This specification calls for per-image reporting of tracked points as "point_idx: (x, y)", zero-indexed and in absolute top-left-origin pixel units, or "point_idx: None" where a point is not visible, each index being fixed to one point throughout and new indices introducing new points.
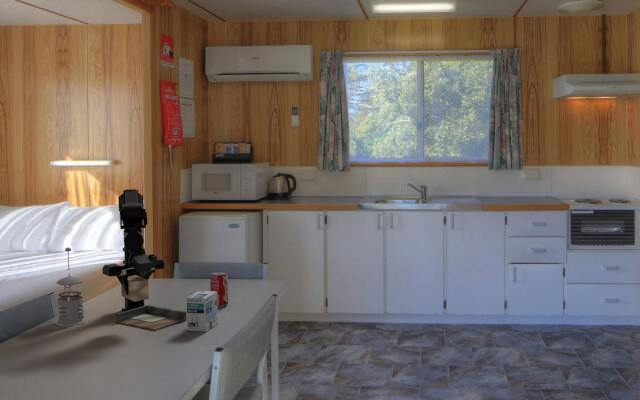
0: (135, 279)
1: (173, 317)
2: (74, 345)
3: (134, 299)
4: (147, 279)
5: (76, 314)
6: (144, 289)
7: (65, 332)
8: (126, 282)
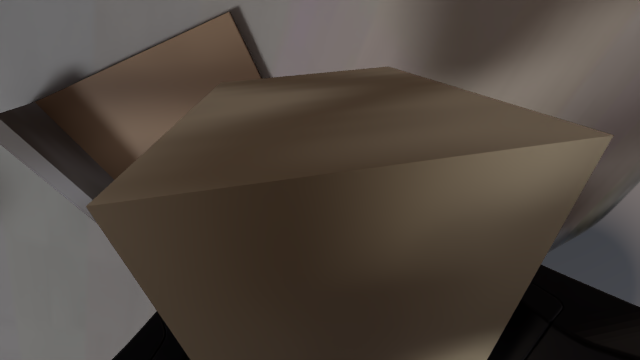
0: (378, 350)
1: (99, 167)
2: (596, 19)
3: (390, 71)
4: (133, 355)
5: None
6: (266, 107)
7: None
8: (532, 285)
